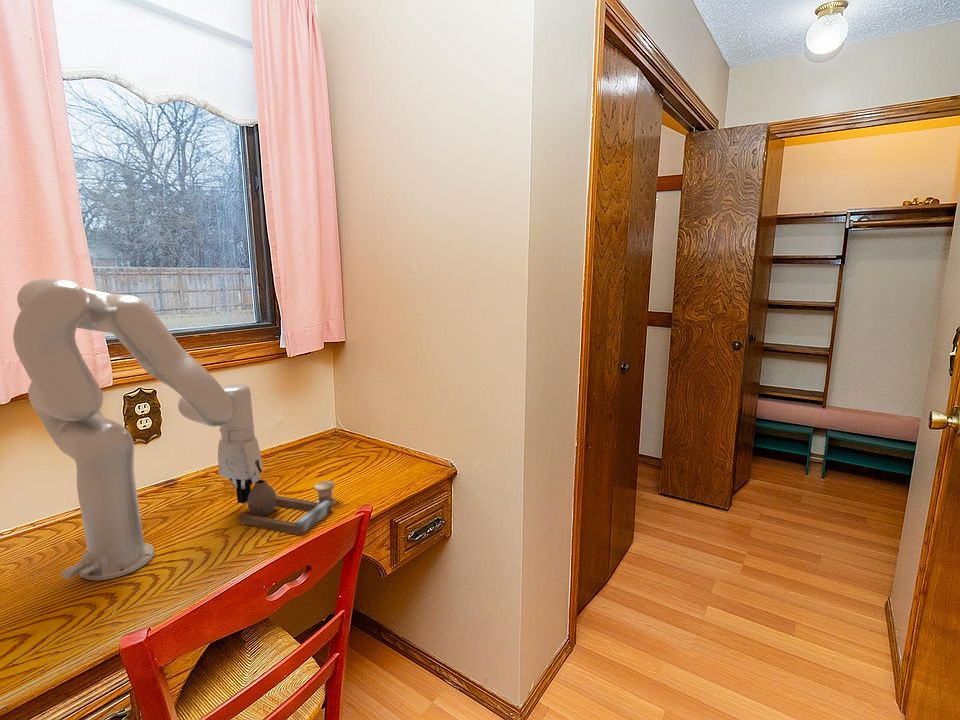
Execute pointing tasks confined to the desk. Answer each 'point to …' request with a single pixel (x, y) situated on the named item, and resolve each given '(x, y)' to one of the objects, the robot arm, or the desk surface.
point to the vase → (262, 499)
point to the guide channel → (297, 528)
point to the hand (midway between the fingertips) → (244, 500)
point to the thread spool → (325, 491)
